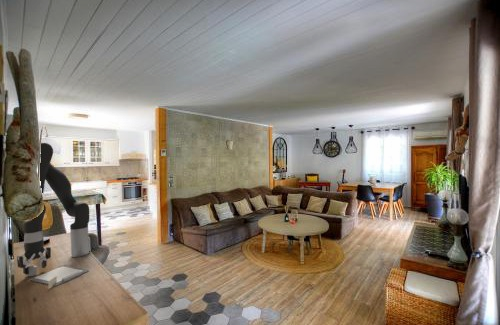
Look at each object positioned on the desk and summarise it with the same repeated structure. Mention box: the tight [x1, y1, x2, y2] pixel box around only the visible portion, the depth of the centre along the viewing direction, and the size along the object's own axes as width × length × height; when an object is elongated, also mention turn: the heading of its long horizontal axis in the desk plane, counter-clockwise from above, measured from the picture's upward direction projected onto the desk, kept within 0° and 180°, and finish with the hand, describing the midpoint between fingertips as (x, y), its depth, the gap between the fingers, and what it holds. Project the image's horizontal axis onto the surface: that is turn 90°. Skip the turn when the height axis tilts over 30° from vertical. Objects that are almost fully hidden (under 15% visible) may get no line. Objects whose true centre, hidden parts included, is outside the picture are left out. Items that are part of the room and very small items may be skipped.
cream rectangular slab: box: [47, 276, 57, 290], centre depth 113 cm, size 5×1×4 cm, turn 9°
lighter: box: [25, 258, 44, 278], centre depth 125 cm, size 7×2×8 cm, turn 131°
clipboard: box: [29, 265, 90, 288], centre depth 123 cm, size 16×20×2 cm
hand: (35, 270), depth 125 cm, fingers closed on lighter, 7 cm apart
